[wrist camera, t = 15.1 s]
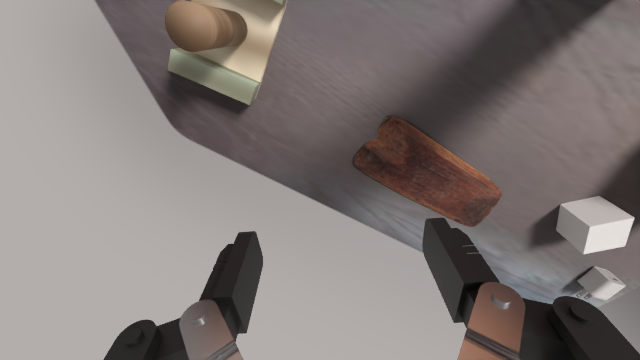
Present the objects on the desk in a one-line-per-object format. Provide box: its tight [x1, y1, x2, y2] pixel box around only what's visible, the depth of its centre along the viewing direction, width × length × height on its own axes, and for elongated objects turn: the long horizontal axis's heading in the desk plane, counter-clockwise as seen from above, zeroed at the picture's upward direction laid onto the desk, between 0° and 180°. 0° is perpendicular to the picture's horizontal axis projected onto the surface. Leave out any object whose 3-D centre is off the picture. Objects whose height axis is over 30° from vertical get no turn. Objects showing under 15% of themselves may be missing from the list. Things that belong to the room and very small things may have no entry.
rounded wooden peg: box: [165, 1, 248, 52], centre depth 27 cm, size 4×4×12 cm
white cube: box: [556, 196, 634, 254], centre depth 44 cm, size 6×6×6 cm
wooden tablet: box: [353, 116, 502, 227], centre depth 43 cm, size 26×2×10 cm
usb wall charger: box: [576, 266, 626, 300], centre depth 54 cm, size 4×7×4 cm, turn 161°
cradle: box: [168, 0, 288, 105], centre depth 31 cm, size 14×10×4 cm
